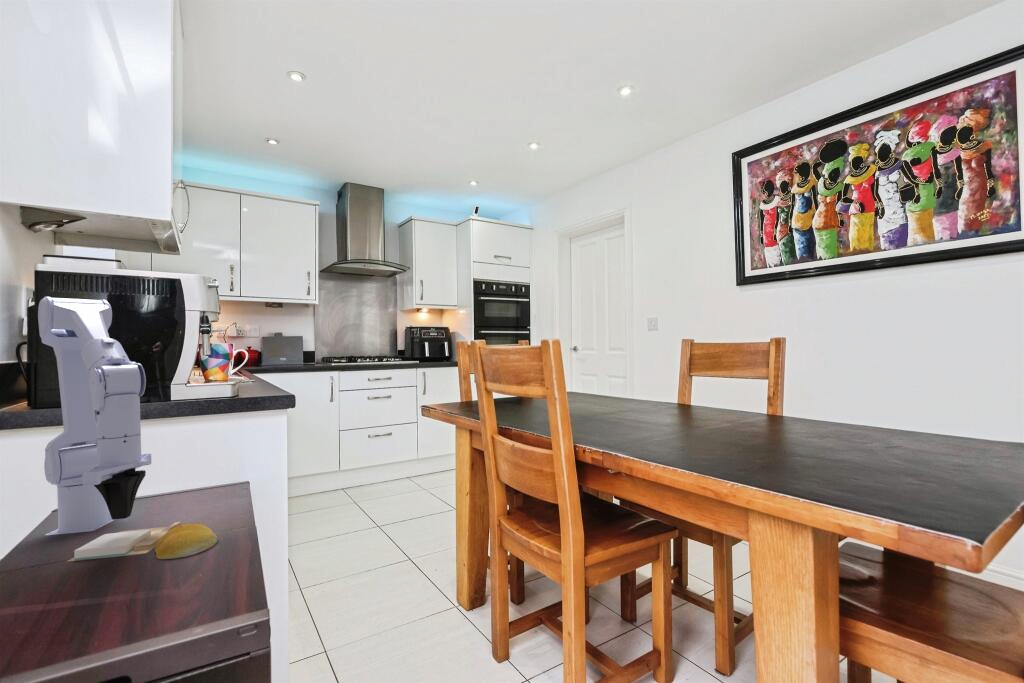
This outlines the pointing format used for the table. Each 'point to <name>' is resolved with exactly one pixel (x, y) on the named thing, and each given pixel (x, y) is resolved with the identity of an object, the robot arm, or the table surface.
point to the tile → (111, 545)
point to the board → (153, 530)
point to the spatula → (154, 538)
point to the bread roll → (185, 541)
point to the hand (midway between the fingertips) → (121, 517)
